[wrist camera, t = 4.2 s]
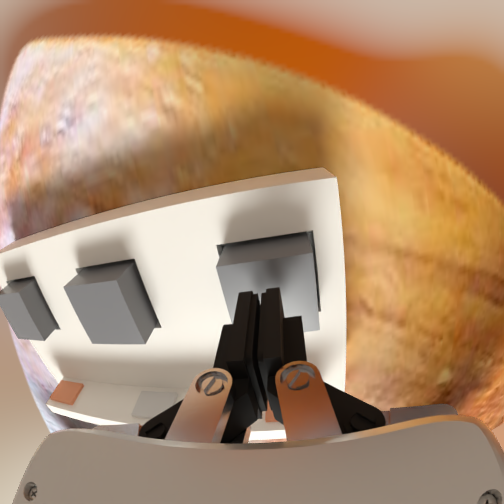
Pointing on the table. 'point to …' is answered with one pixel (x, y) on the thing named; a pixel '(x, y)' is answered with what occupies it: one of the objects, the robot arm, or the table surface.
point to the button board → (179, 290)
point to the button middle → (112, 303)
